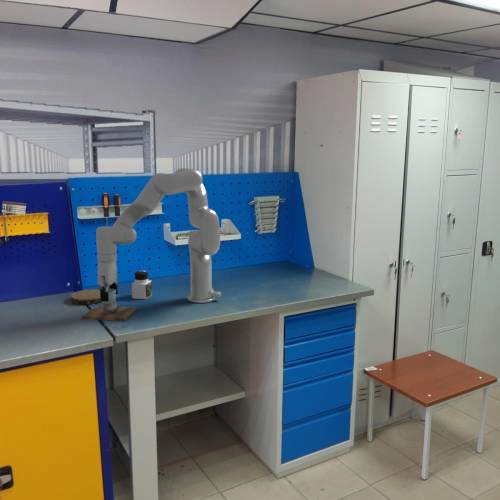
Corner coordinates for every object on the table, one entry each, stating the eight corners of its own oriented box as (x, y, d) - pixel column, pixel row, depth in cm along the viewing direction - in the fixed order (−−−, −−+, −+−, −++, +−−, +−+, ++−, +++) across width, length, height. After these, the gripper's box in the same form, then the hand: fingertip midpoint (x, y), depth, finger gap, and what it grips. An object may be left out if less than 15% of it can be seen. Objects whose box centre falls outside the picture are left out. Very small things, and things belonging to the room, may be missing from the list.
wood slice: (70, 297, 238) (70, 291, 237) (106, 294, 243) (105, 288, 243) (71, 307, 223) (71, 300, 223) (109, 303, 229) (109, 297, 228)
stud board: (136, 309, 219) (136, 298, 218) (125, 321, 206) (124, 308, 205) (96, 308, 221) (95, 296, 220) (82, 319, 208) (81, 306, 207)
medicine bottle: (146, 299, 234) (145, 274, 232) (131, 298, 236) (130, 273, 233) (152, 295, 241) (151, 270, 239) (138, 294, 242) (137, 269, 240)
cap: (106, 300, 215) (105, 288, 214) (118, 300, 215) (117, 289, 214) (100, 304, 210) (100, 292, 209) (113, 304, 210) (112, 292, 209)
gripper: (106, 252, 217) (108, 291, 221) (89, 261, 201) (91, 303, 204) (123, 252, 217) (125, 292, 220) (107, 262, 200) (109, 304, 203)
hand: (109, 297), depth 212 cm, fingers open, 9 cm apart
